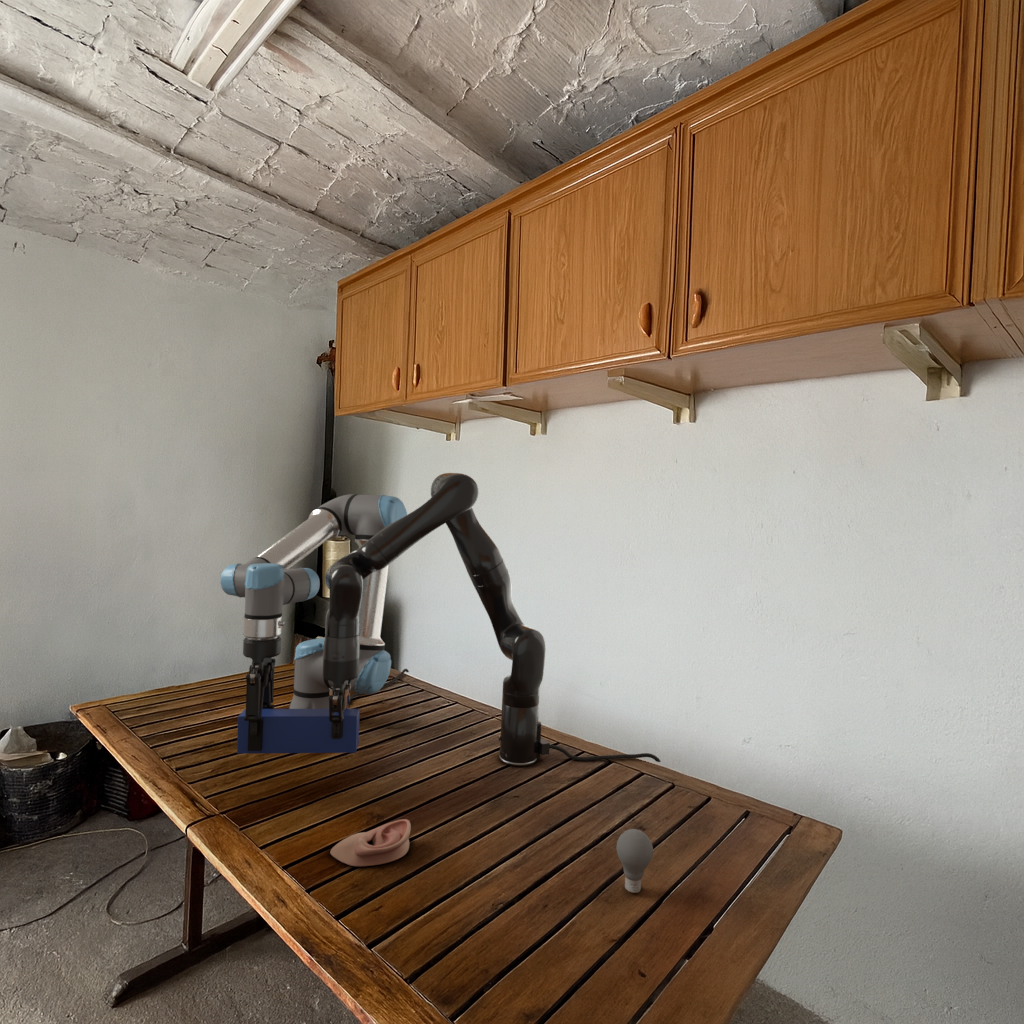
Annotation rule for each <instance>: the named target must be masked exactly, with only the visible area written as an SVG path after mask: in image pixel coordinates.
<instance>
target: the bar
mask: <svg viewBox="0 0 1024 1024" xmlns="http://www.w3.org/2000/svg"><path fill="white" fill-rule="evenodd" d="M360 711H361V709H360V708H348V709H346V710H344V720H343V734H342V738H341V739H332V738H331V732H332V722H330V721H329V709H289V708H274V709H262V719H263V736H262V750H261V751H248V725H249V721H244V718H245V716H246V708H244V710H242V711H241V712H240V714H239V715H238V716H237V735H236V740H237V741H236V754H239V755H241V754H244V755H245V754H249V755H251V754H353V753H354V754H355V753H357V749H358V747H359V745H360V717H361V716H360V715H361V714H360V713H361V712H360ZM334 716H339V713H338V712H334Z"/></svg>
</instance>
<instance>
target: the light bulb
mask: <svg viewBox="0 0 1024 1024" xmlns="http://www.w3.org/2000/svg"><path fill="white" fill-rule="evenodd" d="M615 849H616V854H617V857H618V859H619V861H620V863H621V865H622V867H623V873H624V874H623V875H624V876H625V878H624V888H625V890H627V891H628V892H630V893H634V894H635V893H639V892H640V891H641V889H642V887H641V886H642V879H643V877H644V875H645V871H646V868H647V867H648V866H649V864H650V863H651V861H652V859H653V855H654V847H653V843H652V841H651V838H649V836H648V835H647V834H646V833H645V832H643V831H642V830H641V829H636V828H629V829H627V830H625V831H623V832H622V833H621V834H620V835H619V837H618V839H617V841H616V847H615Z"/></svg>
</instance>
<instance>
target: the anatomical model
mask: <svg viewBox="0 0 1024 1024" xmlns="http://www.w3.org/2000/svg"><path fill="white" fill-rule="evenodd" d="M411 825H412V824H411V822H410V820H409V819H406V818H404V819H403V818H402V819H396V820H394V821H391V822H387V823H385V824H382V825H380V826H377V827H375V828H373V829H370V830H367V831H363V832H358V833H354V834H352V835H349V836H348V837H345V838H344V839H342V840H341V841H339V842H338V843H336V844H335V845H334V846H332V848H331V849H330V850H329V851H330V852H329V854H330V855H331V856H332V857H333V858H334V859H335V860H337V861H339V862H341V863H342V864H344V865H345V864H346V865H347V866H351V867H368V866H369V867H370V866H377V865H383V864H387V863H391V862H394V861H397V860H399V859H400V858H402V857H404V856H405V855H406V854H407V853H408V852H409V849H410V839H409V837H410V834H411V830H412V829H411V828H412V826H411Z"/></svg>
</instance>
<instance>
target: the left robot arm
mask: <svg viewBox="0 0 1024 1024" xmlns="http://www.w3.org/2000/svg"><path fill="white" fill-rule="evenodd" d="M406 515H408V512H407V508H406V506H405V504H404V502H403V501H402V500H401V499H400V497H399V498H398V497H397V496H393V495H385V494H358V493H349V494H343V495H340V496H338V497H335V498H333V499H331V500H328V501H327V502H325V503H323V504H321V505H319V506H318V507H316V508H314V510H312V511H311V512H310V513H309V515H308V518H307V519H306V520H305V521H302V523H300V524H299V525H297V526H296V527H295V528H293V529H292V530H291V531H289V532H287V534H285V535H284V536H282V537H281V538H279V539H278V540H276V541H275V542H274V543H273V544H271V545H269V546H268V547H266V548H265V549H264V550H262V551H261V552H260V553H258V554H256V555H255V556H254V557H252V558H251V559H250V560H248V561H247V562H246V563H231V564H228V565H227V566H225V568H224V569H223V570H222V573H221V575H220V587H221V589H222V591H223V592H224V593H225V594H226V595H228V596H233V597H238V598H244V615H243V616H244V617H243V633H242V634H243V636H244V639H242V640H243V642H242V643H243V644H242V655H243V657H245V658H249V659H251V664H250V665H249V669H248V672H247V673H246V675H245V683H246V691H245V693H246V695H245V709H246V716H245V718H244V721H249V725H248V751H261V750H262V736H263V719H262V709H275V708H276V707H275V704H273V703H274V691H275V685H274V684H275V667H276V658H275V657H277V656H279V655H280V654H281V653H282V637H281V634H282V627H284V625H285V621H284V620H282V619H283V607H284V606H285V605H289V604H294V603H300V602H301V603H303V602H306V601H307V600H310V599H313V598H314V597H315V596H316V595H317V594H318V592H319V590H320V585H321V583H320V577H319V575H318V573H317V572H316V571H315V570H313V569H312V568H309V567H297V568H293V567H294V566H296V565H297V564H298V563H300V562H301V561H302V560H303V559H305V558H307V556H309V555H310V554H311V553H312V552H314V551H315V550H316V549H318V547H321V545H322V544H324V543H326V542H327V541H328V542H329V541H333V540H335V539H336V538H338V537H340V536H346V535H352V536H354V543H356V544H357V546H358V548H359V547H361V546H362V545H363V544H364V543H365V542H367V541H369V539H371V538H372V537H373V536H374V535H376V534H377V533H378V532H380V531H381V530H382V529H384V528H385V527H387V526H388V525H390V524H391V523H393V522H395V521H397V520H399V519H401V518H402V517H404V516H406ZM389 568H390V564H389V565H388V566H386V567H385V568H383V569H382V570H380V571H376V572H373V573H371V574H370V575H369V576H367V577H366V578H365V579H363V592H362V599H361V605H360V610H359V644H360V648H359V675H358V677H357V678H355V679H353V680H351V682H350V684H351V690H350V693H353V694H351V695H350V701H349V702H350V703H351V701H352V699H354V698H356V697H359V696H361V695H365V694H366V695H373V694H376V693H378V692H379V691H380V690H381V689H382V688H384V687H387V686H390V685H392V684H393V683H395V682H397V681H398V680H399V679H400V678H401V677H402V676H403V675H404V674H405V673H409V672H410V671H409V669H408V668H404V669H403V670H402V671H401V672H400V673H401V674H400V673H399V674H398V675H397V676H396V677H395V678H393V679H391V680H390V681H388V682H387V680H388V678H389V676H390V672H391V668H392V659H391V654H390V653H389V652H388V651H387V650H385V647H386V643H385V642H384V641H383V639H382V638H381V633H382V626H383V625H382V624H383V617H384V611H385V610H384V609H385V602H386V601H385V600H386V593H387V585H388V584H387V583H388V577H389ZM324 641H325V638H320V639H316V638H313V639H307V640H304V641H302V642H299V643H298V644H297V645H296V647H295V652H294V653H295V654H294V658H293V660H294V672H293V695H292V696H293V697H292V699H291V702H289V705H288V709H329V696H330V695H329V692H330V688H332V684H333V682H332V681H330V680H326V679H324V678H323V649H324Z"/></svg>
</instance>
